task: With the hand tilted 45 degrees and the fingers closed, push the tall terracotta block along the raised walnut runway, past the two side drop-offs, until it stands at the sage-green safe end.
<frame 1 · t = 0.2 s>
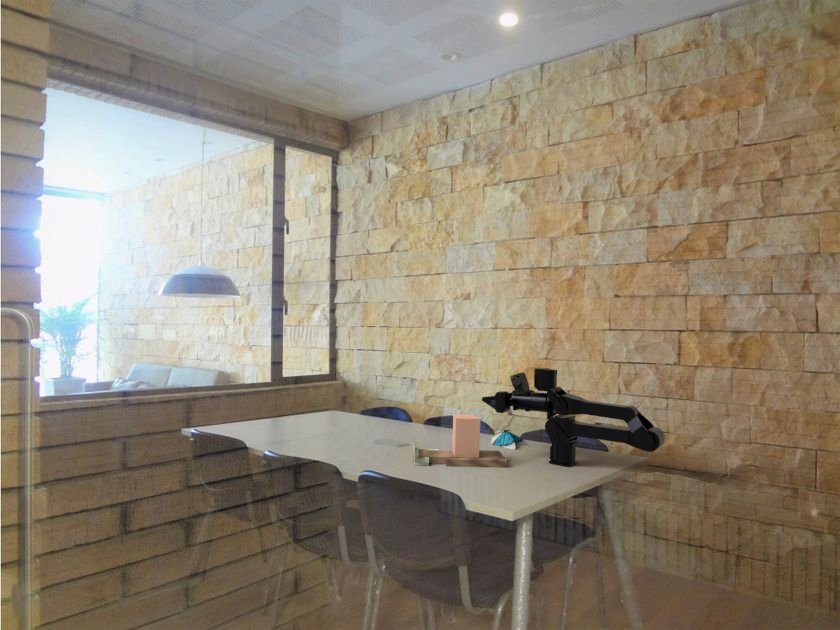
hand: (489, 397, 184), 17 cm above the table, tool horizontal, fingers open, 9 cm apart
decorative butterfly: (507, 446, 192), on the table
block: (465, 454, 168), point 2 cm above the table, touching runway
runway: (458, 460, 168), on the table
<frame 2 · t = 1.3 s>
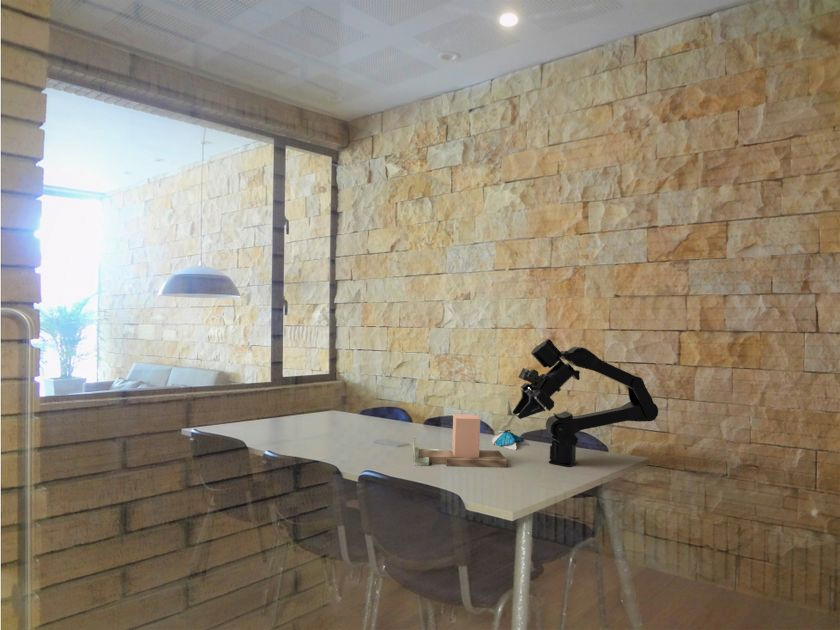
hand: (516, 415, 169), 14 cm above the table, tool tilted 45°, fingers open, 7 cm apart
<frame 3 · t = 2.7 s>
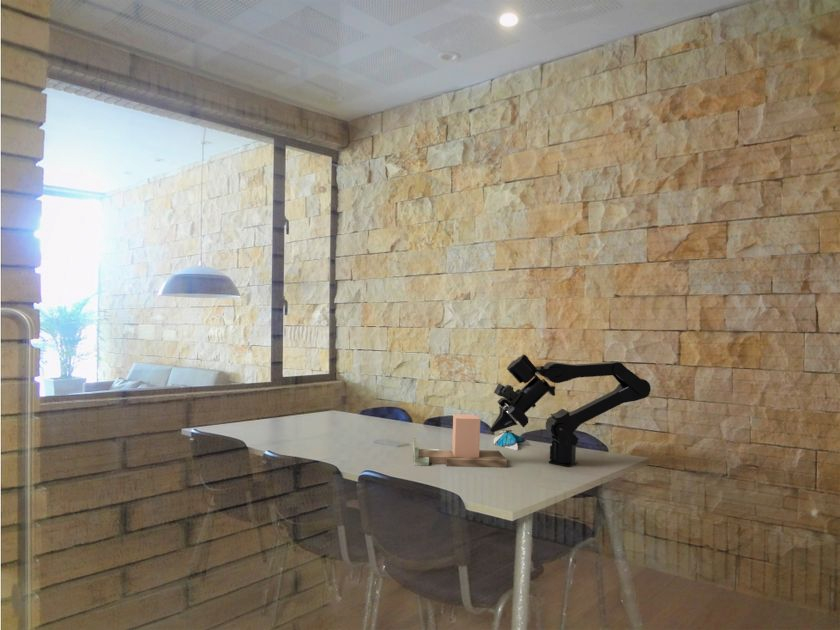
hand: (491, 431, 168), 9 cm above the table, tool tilted 45°, fingers closed
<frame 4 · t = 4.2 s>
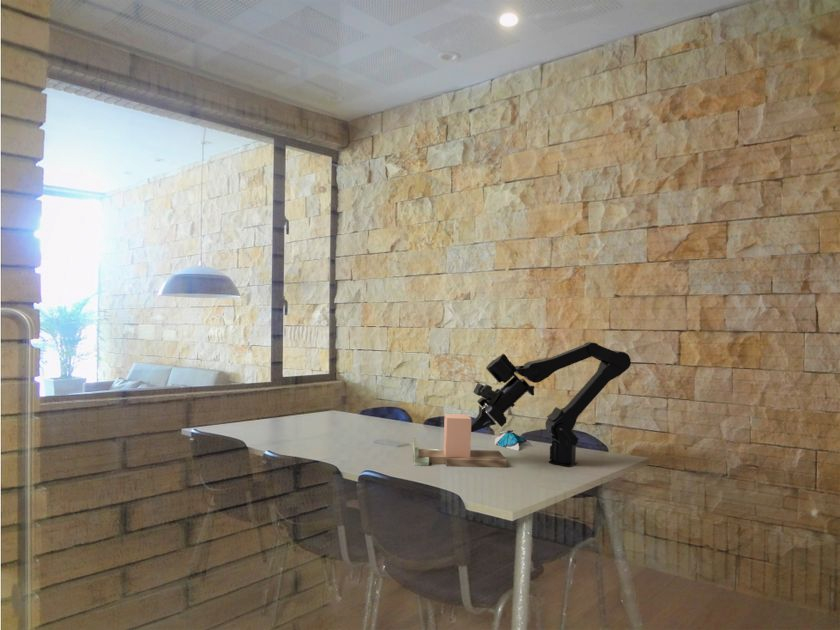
hand: (470, 430, 168), 9 cm above the table, tool tilted 45°, fingers closed, pressing on block
block: (456, 454, 168), point 2 cm above the table, touching gripper
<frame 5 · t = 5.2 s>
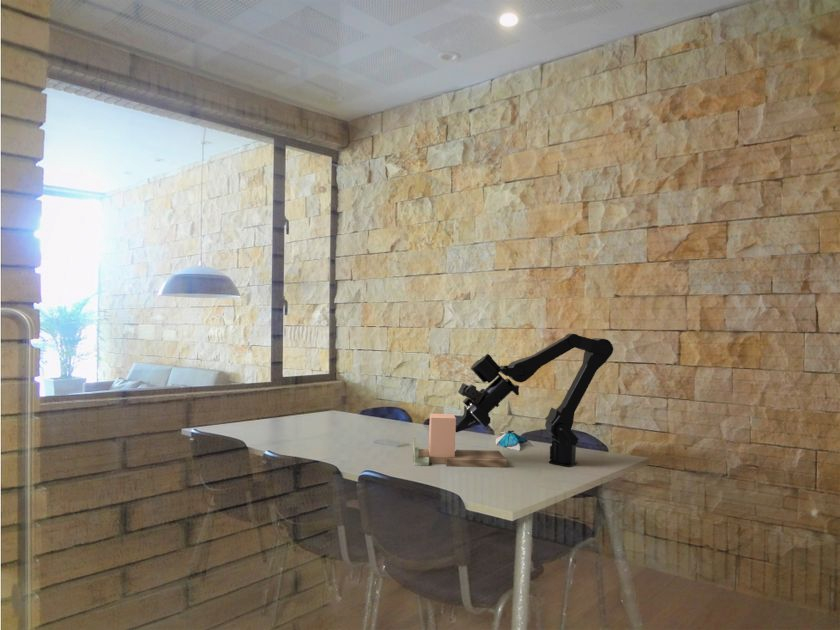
hand: (455, 431, 168), 9 cm above the table, tool tilted 45°, fingers closed
block: (441, 453, 168), point 2 cm above the table, touching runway
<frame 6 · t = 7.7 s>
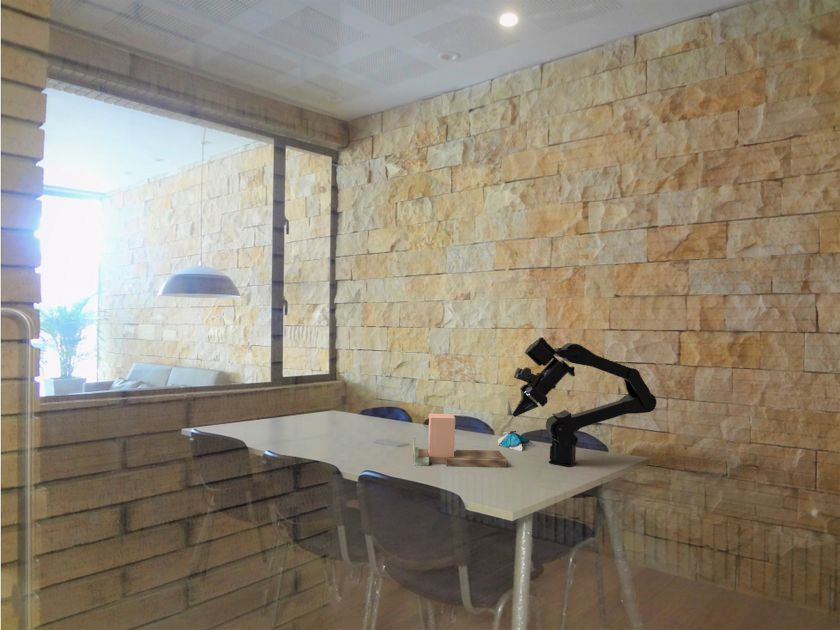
hand: (513, 415, 169), 14 cm above the table, tool tilted 40°, fingers closed
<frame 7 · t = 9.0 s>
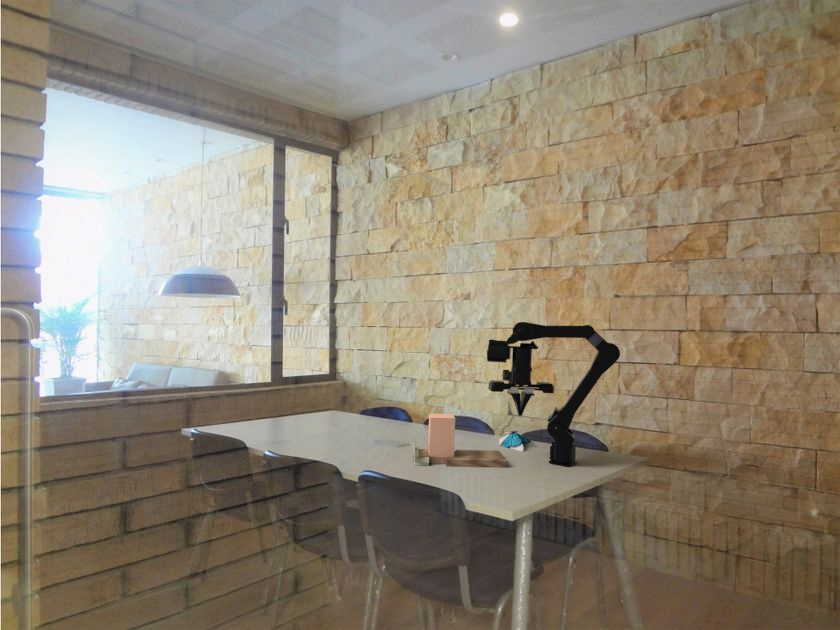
hand: (519, 415, 173), 13 cm above the table, tool pointing down, fingers closed
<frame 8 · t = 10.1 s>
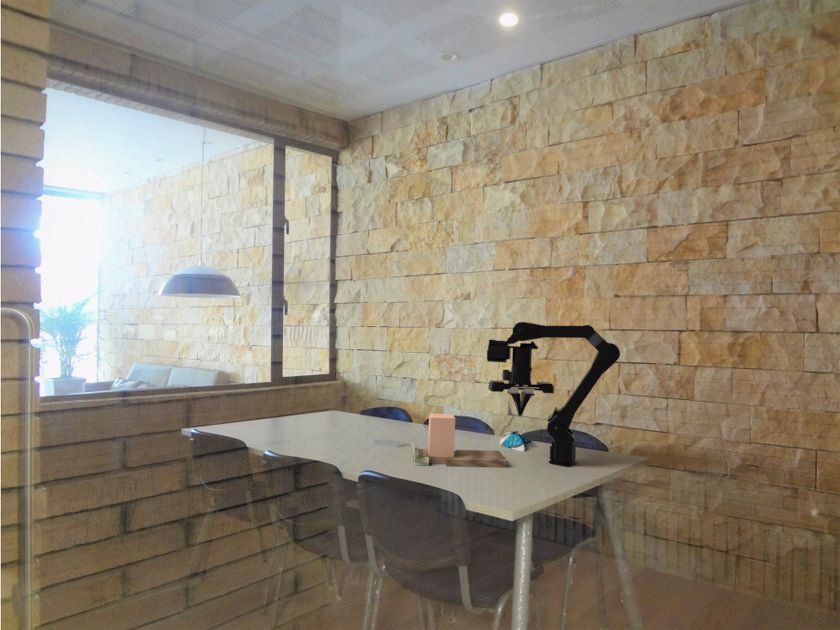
hand: (519, 415, 173), 13 cm above the table, tool pointing down, fingers closed
at the end: block inside the target area (1.6 cm from its centre), point 2.0 cm above the table; block tilted 0°; block touching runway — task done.
